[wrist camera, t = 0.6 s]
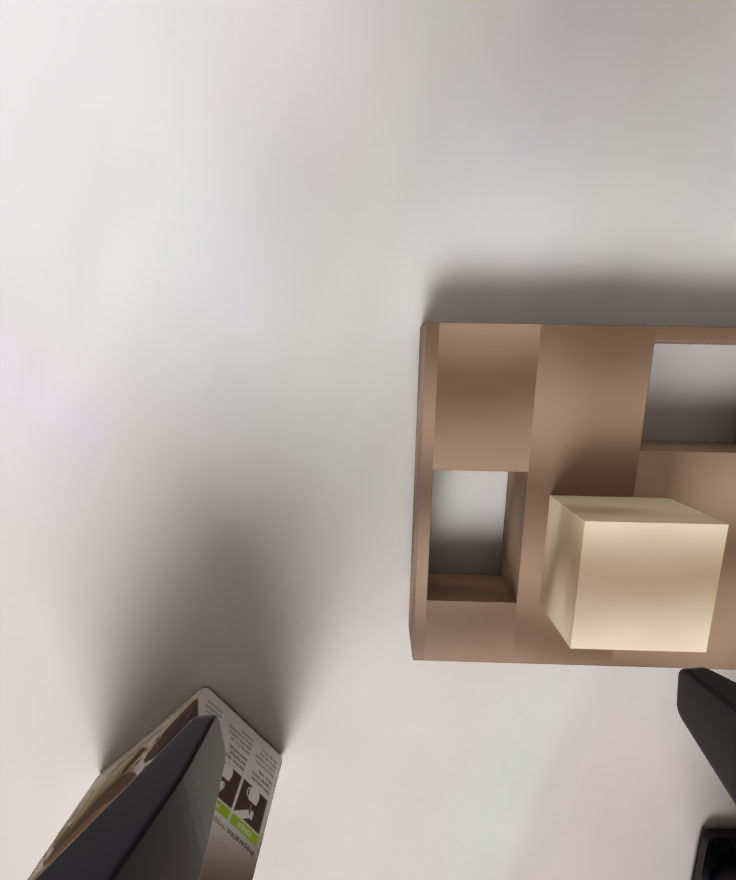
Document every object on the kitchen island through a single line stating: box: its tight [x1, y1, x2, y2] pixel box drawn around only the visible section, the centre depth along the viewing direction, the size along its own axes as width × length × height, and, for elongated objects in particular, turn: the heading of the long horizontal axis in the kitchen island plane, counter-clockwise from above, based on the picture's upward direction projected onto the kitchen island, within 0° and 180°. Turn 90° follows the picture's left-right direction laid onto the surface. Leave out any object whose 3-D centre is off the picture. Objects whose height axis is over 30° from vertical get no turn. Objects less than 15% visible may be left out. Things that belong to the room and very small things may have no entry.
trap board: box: [409, 322, 736, 670], centre depth 19 cm, size 15×25×2 cm, turn 89°
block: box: [539, 495, 729, 652], centre depth 17 cm, size 5×5×3 cm
